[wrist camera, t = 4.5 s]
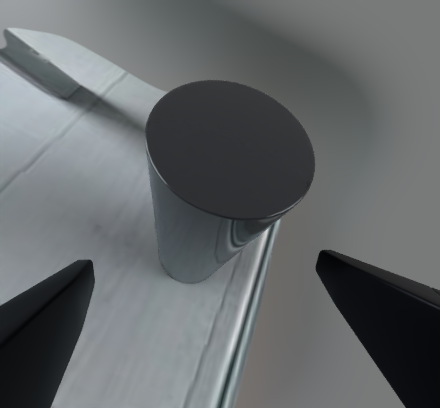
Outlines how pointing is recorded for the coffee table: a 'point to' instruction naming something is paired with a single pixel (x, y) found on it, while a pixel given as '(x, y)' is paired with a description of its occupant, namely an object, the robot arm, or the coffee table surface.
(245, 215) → the dark grey cylinder
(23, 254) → the coffee table surface
